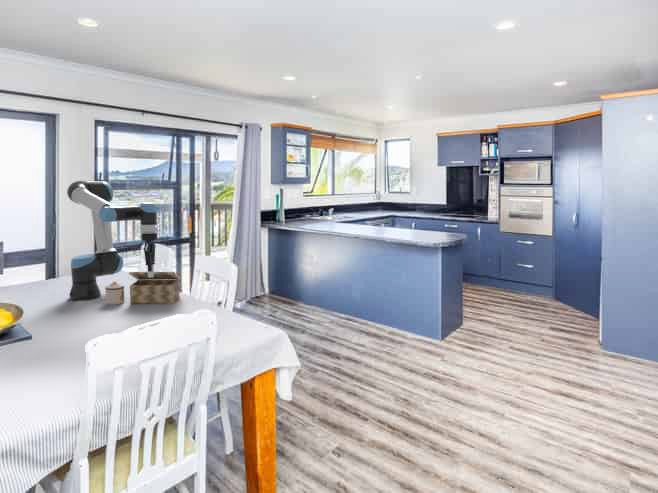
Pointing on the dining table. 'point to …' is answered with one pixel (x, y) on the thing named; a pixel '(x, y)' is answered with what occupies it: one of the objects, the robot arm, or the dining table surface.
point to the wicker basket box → (154, 291)
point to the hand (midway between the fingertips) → (150, 276)
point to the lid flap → (156, 275)
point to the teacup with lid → (114, 293)
